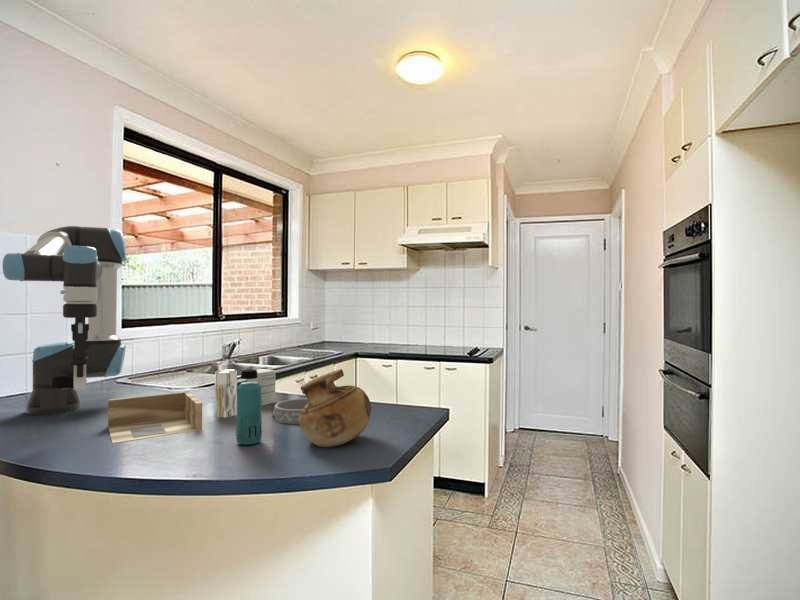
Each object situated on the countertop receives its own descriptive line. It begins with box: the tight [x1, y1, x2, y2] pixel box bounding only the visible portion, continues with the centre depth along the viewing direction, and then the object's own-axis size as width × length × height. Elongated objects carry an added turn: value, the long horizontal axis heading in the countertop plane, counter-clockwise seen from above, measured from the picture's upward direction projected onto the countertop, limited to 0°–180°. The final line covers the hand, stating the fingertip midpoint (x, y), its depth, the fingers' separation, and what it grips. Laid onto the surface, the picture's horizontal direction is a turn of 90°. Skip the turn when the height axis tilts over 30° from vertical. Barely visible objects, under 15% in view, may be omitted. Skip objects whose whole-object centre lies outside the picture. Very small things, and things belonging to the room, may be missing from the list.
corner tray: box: [107, 390, 203, 444], centre depth 132 cm, size 20×22×8 cm
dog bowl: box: [272, 397, 309, 425], centre depth 145 cm, size 17×18×5 cm
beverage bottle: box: [235, 368, 263, 445], centre depth 118 cm, size 6×7×20 cm
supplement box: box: [246, 368, 277, 407], centre depth 164 cm, size 7×7×13 cm
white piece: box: [214, 369, 238, 418], centre depth 147 cm, size 7×7×15 cm
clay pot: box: [299, 369, 372, 448], centre depth 119 cm, size 19×19×20 cm
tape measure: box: [51, 376, 88, 390], centre depth 122 cm, size 7×7×4 cm
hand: (79, 386), depth 123 cm, fingers closed on tape measure, 8 cm apart
